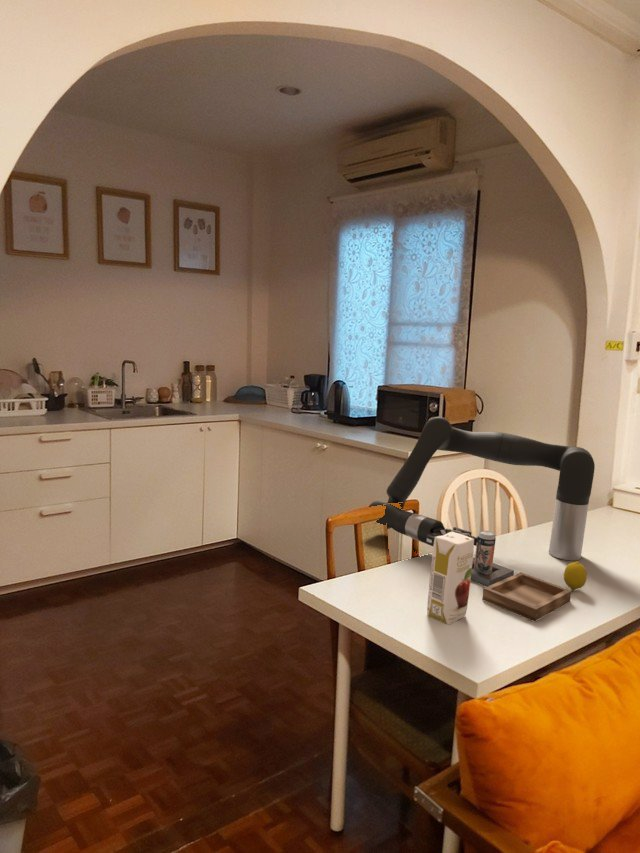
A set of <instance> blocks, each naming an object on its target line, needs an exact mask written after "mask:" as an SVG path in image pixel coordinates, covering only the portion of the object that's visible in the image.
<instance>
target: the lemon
mask: <svg viewBox="0 0 640 853" xmlns="http://www.w3.org/2000/svg"><path fill="white" fill-rule="evenodd" d="M587 578H588V577H587V570H586V568H585V566H584V565H583V564H582V563H580V562H579V560H575V561H572V562H570V563H569V564H567V565H566V567H565V569H564V573H563V581H564V583H565V585H566V586H567V587H568V588H570V589H571V591H576V590H579V589H582V588H583V587H584V586H585V584H586V582H587Z"/></svg>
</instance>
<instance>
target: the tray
mask: <svg viewBox="0 0 640 853" xmlns="http://www.w3.org/2000/svg"><path fill="white" fill-rule="evenodd" d="M572 591H573V590H572V589H571V590H570V589H568V588H565V587H563V586H560V585H557V584H553V583H551V582H549V581H545V580H544V579H540V578H537V577H534V576H533V575H529V574H527V573H524V572H518V573H516V574H514V575H513V576H511V577H509V578H506V579H504V580H502V581H499V582H497V583H495V584H492V585H490V586H488V587H486V586H484V587H483V588H482V599H481V600H482V601H483V602H484V601H485V602H487V603H489V604H491V605H494V606H496V607H499V608H501V609H503V610H506V611H508V612H510V613H513V614H515V615H517V616H520V617H523V618H525V619H527V620H529V621H533V622H536V621H538V620H540V619H542V618H544V617H546V616H547V615H549V614H551V613H553V612H555V611H557V610H559V609H560V608H562V607H565V606H566V605H567V604H569V603H571V598H572Z"/></svg>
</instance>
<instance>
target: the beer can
mask: <svg viewBox="0 0 640 853" xmlns="http://www.w3.org/2000/svg"><path fill="white" fill-rule="evenodd" d="M476 537H477V545H476V546H475V554H474V557H475V562H474V570H476V571H479V572H481V573H484V574H486V575H487V574H490V573H492V566H493V563H494V556H495V549H496V548H495V547H496V540H497V537H496V534H495V533H494V532H492V531H489V530H480V531H479V532H478V534H477V536H476Z"/></svg>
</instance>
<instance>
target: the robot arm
mask: <svg viewBox="0 0 640 853" xmlns="http://www.w3.org/2000/svg"><path fill="white" fill-rule="evenodd" d="M437 451H444V452H451V453H452V452H454V453H461V454H468V455H470V456H475V457H478V458H481V459H486V460H489V461H494V462H497V463H502V464H507V465H510V466H511V465H512V466H522V467H523V466H526V467H531V466H532V467H533V466H534V467H535V466H536V467H544V468H549V469H551V470H554V471H555V470H556V471H558V472H559V477H558V483H557V488H556V495H555V500H554V503H555V504H554V509H553V517H552V526H551V531H550V532H551V533H550V539H549V548H548V554H549V555H550V556H552V557H554V558H557V559H560V560H564V561H579V560H581V558H582V552H583V545H584V538H585V532H586V526H587V525H586V524H587V519H588V518H587V517H588V509H589V503H590V498H591V495H592V489H593V482H594V477H595V469H596V468H595V461H594V458H593V455H592V454H591V453H590V452H589V451H588V450H587V449H585V448H583V447H581V446H580V447H579V446H572V445H560V444H559V445H558V444H552V443H546V442H542V441H539V440H536V439H532V438H529V437H528V438H527V437H524V436H519V435H516V434H511V433H507V432H502V431H501V432H500V431H469V430H464V429H460V428H456V427H454V426H452V424H451V423H450V421H449V420H448V419H447V418H445V417H444V416H443V417H442V416H434V417H432V418H430V419H428V420H427V421H426V422H425V424H424V426H423V428H422V431H421V433H420V435H419V436H418V439H417V441H416V444H415V445H414V448H413V449H412V450H411V452H410V454H409V456H408V457H407V458H406V460H405V462H404V463H403V464H402V466H401V468H400V469H399V471H398V472H397V473H396V475H395V476H394V478H393V479H392V481H391V482H390V484H389V485H388V486H387V488H386V492H385V493H386V495H387V497H388V500H387V502H386V501H383V500H375V501H372V502H371V503H370V504H369V505H368V507H371V506H377V505H382V506H383V504H386V505H384V506H386V509H385V515H384V516H383V517H382V518H380V519H379V520H377V521H376V522H377V523H380V524H383V525H386V523H387V529H386V530H389V529H392V530H394V531H395V532H397V533H398V534H402V535H404V536H407V537H410V539H413V540H414V541H417V542H421V543H424V544H426V545H428V546H430V547H433V545H434V540H435V537H437V536H443V535H445V534H447V533H449V532H451V531H452V532H455V533H459V534H462V535H465V536H468V537H470V538H473V539H474V547H476V545H477V536H473V535H472V532H471V531H469V530H465V529H462V528H459V527H456V526H454V527H453V528H446V527H445V526H444V524H443V522H442V521H440V520H438V519H436V518H431V517H428V516H425V515H423V514H418V513H417V514H416V513H414V512H411V511H407V510H404V508H405V504H406V502H407V499H409V497H410V496H411V494H412V492H413V490H415V488H416V486H417V485H418V483H419V482H420V479H421V477H422V475H423V473H424V471H425V469H426V467H427V466H428V464H429V462H430V461H431V459H432V457H433V456H434V455H435V453H436V452H437ZM398 502H403V503H399V504H401V505H400V506H401V507H402V508H401V509H403V510H401V509H399V508H397V507H395V506H393V505H391V504H388V503H398Z"/></svg>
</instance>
